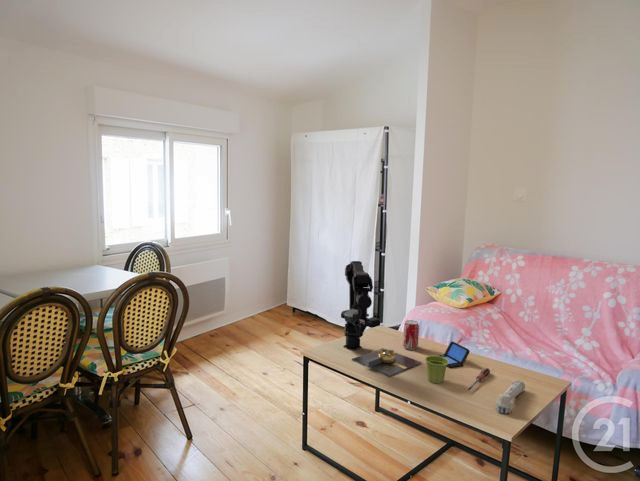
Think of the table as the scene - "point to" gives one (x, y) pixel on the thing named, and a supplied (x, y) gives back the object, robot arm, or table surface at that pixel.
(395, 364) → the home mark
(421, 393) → the table surface
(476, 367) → the table surface
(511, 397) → the light grey elongated piece
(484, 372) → the screwdriver
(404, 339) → the soda can
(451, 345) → the handheld game console
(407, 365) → the plate
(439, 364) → the plant pot
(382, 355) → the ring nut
